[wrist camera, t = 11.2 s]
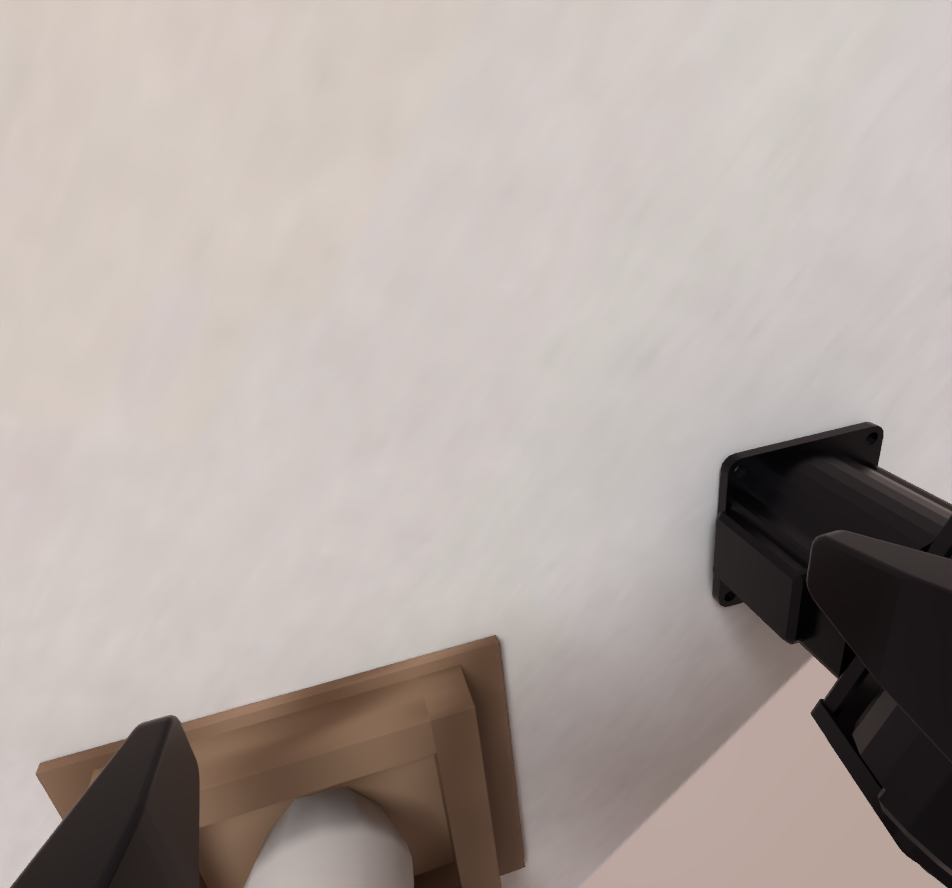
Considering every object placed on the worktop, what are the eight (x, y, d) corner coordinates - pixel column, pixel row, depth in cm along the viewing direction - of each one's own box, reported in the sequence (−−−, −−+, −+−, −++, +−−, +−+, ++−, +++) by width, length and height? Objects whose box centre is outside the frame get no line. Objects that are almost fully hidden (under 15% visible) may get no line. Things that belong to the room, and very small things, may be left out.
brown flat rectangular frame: (495, 635, 23) (517, 683, 21) (522, 858, 29) (541, 913, 27) (40, 762, 20) (11, 834, 18) (168, 984, 26) (158, 1058, 24)
